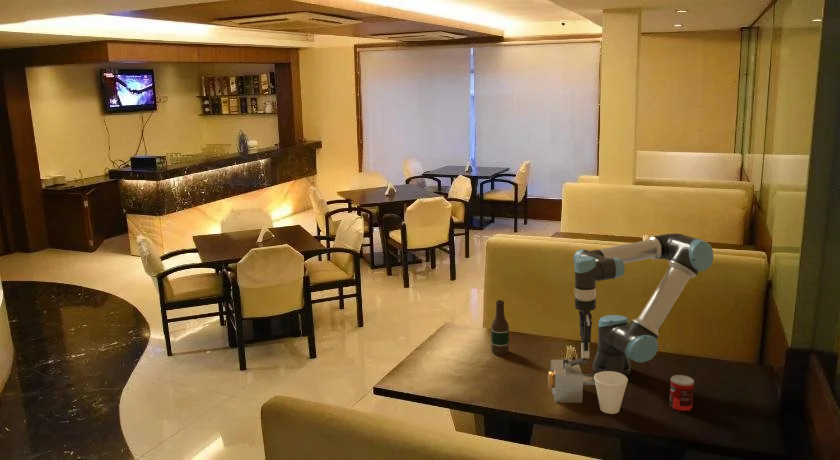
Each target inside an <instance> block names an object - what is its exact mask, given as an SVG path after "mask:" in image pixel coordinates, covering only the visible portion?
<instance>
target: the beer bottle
mask: <svg viewBox="0 0 840 460" xmlns="http://www.w3.org/2000/svg"><path fill="white" fill-rule="evenodd" d="M495 305H496V306H495V317H494V319H493V320H492V323H491V326H490V327H491V329H490V330H491V331H490V333H491V334H490V335H491V338H490V339H491V341H490V343H491V344H490V346H491V347H490V348H491V353H492V354H493V355H496V356H499V357H500V356H507V354H509V352H510V329H509V328H510V325H509V323H508V321H507V320H506V317H505V306H504V305H505V301H504V300H501V299H500V300H496V301H495Z"/></svg>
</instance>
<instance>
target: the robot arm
mask: <svg viewBox="0 0 840 460" xmlns="http://www.w3.org/2000/svg"><path fill="white" fill-rule="evenodd" d="M649 259H651V260H652V261H657V260H664V261H665V260H666V261H667V263H668V266H669V267H668V268H667V270H666V271H665V274H664V276H662V279H661V280H660V282H659V284H658V286H657V287H656V288H655V289H654V291H653V293H652V295H651V296H650V298H649V299H648V301H647V302H646V305H645V306H644V308H642V311H641V312H640V314H639V315H638V317H637V318H634V319H631V321H629V318H628V317H627V316H624V315H619V314H611V315H610V314H608V315H604V316H602V317H600V319H599V320H598V326H597V327H598V329H597V330H598V331H597V352H596V353H595V354H596V355H595V357H594V359H593V362H592V370H593V371H594V372H595V374H596V373H599V372H602V371H613V372H618V373H621V374H623V375H625V376H626V377H627V376H629V375H630V373H631V370H632V368H631V362H630V360H631V361H634V362H636V363H639V364H641V363H645V362H649V361H650V360H652V359H653V358H654V357H655V356H656V354H657V352H658V350H659V347H658V346H659V342H658V338H659V337H660V335H659V331H658V330H659V328H660V327H661V325H662V324H663V322H664V321H665V319H666V318H667V316H668V314H669V312H671V310H672V309H673V308H672V307H674V304H675V303H676V301H677V300H678V298H679V296H680V295H681V293H682V292H683V290H684V288H685V287H686V285H687V284H688V282H689V280H690V279H693V278H696V277H697V276H698V274H699V272H704V271H707V270H708V269H710V268H711V266H712V264H713V261H714V250H713V248H712V245H711V244H710V243H709V242H707V241H705V240H702V239H701V238H696V237H692V236H689V235H685V234H683V233H677V232H675V233H665V234H658V235H653V236H649V237H648V238H647V239H645V240H641V241H637V242H631V243H625V244H620V245H614V246H609V247H605V248H600V249H593V250H588V249H583V248H581V249H578V250H577V251H576V252H575V253H574V255H573V259H572V260H573V264H574V269H573V270H574V289H573V293H574V296H575V299H574V308H575V309H576V310H578V316H579V337H580V339H581V340H580V344H581V346H580V347H581V349H580V350H581V351H580V352H581V356H580V358H581V357H582V358H585V359H590V343H592V342H591V341H592V340H591V339H592V327H593V325H592V324H593V321H592V313H591V311H594V310H596V307H597V303H596V302H597V300H596V298H597V282H600V281H606V280H614V279H618V278H621V277H623V276H624V274H625V264H630V263H634V262H640V261H644V260H649Z"/></svg>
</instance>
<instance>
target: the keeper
mask: <svg viewBox="0 0 840 460" xmlns="http://www.w3.org/2000/svg"><path fill="white" fill-rule="evenodd" d="M571 360H572V361H568V362H567V361H565V362H564V364H570V365H571V366H574V365H578V364H579V365H580V364H584V365H586V364H587V363H588V362H587V358H582V357H581V356H580V357H579V358H575V359H571Z"/></svg>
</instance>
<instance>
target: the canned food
mask: <svg viewBox="0 0 840 460" xmlns="http://www.w3.org/2000/svg"><path fill="white" fill-rule="evenodd" d="M669 386H670V387H669V403H668V404H669V407H670V406H671V407H672V408H673V409H672V408H671V407H670V408H671V409H672V410H674V409H675V410H674V411H676V410H678V411H677V412H680V411H683V412H682V413H685V412H684V411H688V412H690V411H692V408H693V404H694V403H693V401H694V388H695V387H694V386H695V380H694V379H693V378H692V377H690V376H687V375H684V374H675V375H671V378H670V385H669Z"/></svg>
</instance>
